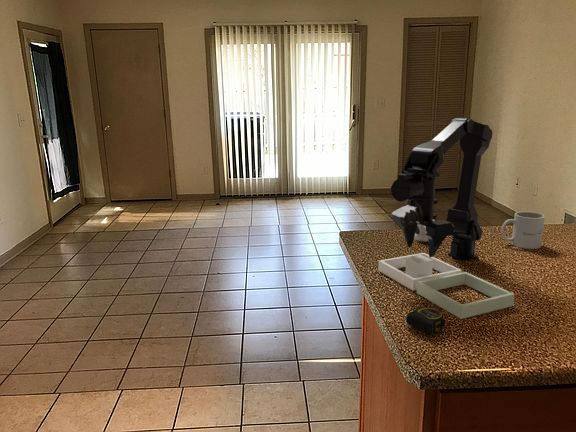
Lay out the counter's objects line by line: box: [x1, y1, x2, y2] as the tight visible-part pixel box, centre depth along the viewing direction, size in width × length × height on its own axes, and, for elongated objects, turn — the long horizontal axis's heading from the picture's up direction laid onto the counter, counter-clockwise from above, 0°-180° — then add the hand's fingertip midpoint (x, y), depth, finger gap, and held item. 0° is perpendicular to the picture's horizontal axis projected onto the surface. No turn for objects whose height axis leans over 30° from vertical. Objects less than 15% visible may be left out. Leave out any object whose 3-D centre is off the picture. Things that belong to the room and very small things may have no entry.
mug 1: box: [414, 219, 436, 243], centre depth 161 cm, size 10×7×7 cm, turn 172°
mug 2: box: [500, 211, 545, 250], centre depth 155 cm, size 12×9×10 cm
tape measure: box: [405, 306, 446, 336], centre depth 102 cm, size 7×7×4 cm
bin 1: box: [377, 252, 463, 292], centre depth 131 cm, size 16×16×3 cm
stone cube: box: [404, 255, 433, 278], centre depth 130 cm, size 5×5×5 cm
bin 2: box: [416, 271, 515, 320], centre depth 116 cm, size 16×16×3 cm
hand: (420, 251), depth 129 cm, fingers open, 9 cm apart
